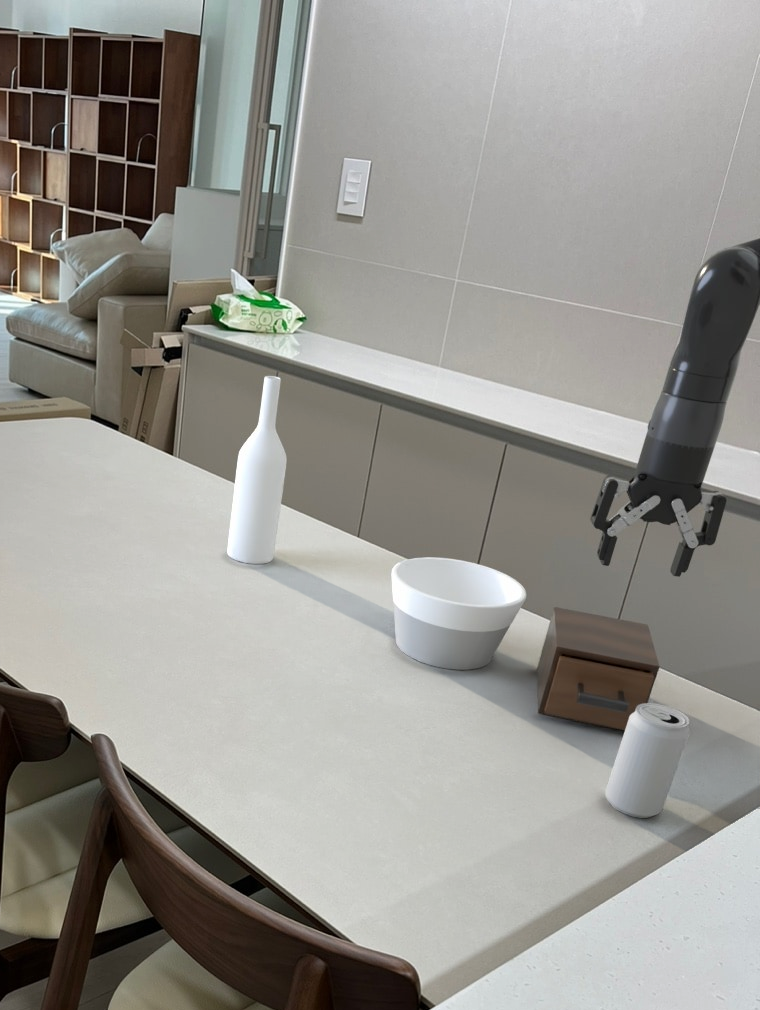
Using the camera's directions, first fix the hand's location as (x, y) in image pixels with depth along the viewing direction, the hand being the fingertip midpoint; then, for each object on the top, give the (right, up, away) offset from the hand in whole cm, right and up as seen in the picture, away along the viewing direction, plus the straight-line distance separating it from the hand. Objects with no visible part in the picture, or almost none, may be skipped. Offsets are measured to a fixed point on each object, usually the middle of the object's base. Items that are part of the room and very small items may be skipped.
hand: (639, 569), depth 129 cm
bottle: (-46, +10, +54) cm, 71 cm away
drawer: (-2, -17, +12) cm, 21 cm away
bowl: (-18, -8, +27) cm, 34 cm away
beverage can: (-4, -28, -7) cm, 30 cm away
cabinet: (-1, -16, +17) cm, 23 cm away
